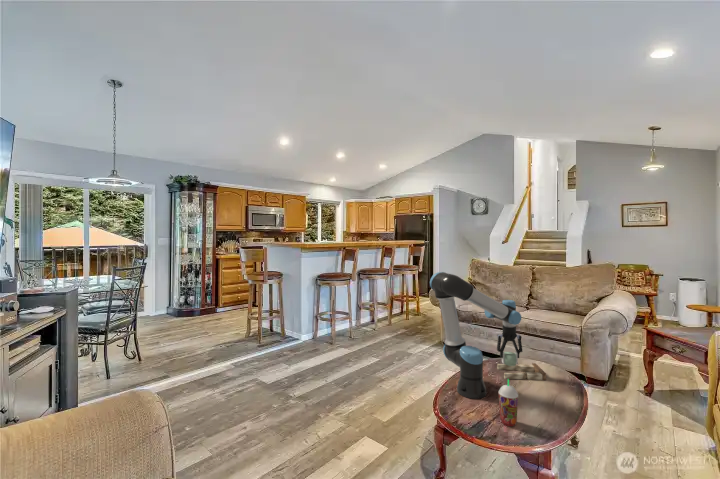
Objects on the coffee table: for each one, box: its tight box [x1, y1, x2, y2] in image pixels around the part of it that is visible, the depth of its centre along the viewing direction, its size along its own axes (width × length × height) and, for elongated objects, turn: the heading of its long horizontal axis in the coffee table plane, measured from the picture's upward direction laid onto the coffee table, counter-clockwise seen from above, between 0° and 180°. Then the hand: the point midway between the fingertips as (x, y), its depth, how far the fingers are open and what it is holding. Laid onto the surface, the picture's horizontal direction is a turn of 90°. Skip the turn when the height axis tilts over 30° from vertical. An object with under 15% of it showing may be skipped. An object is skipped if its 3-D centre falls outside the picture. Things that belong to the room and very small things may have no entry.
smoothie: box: [497, 379, 519, 427], centre depth 153 cm, size 8×8×20 cm
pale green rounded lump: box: [503, 351, 517, 366], centre depth 205 cm, size 7×7×6 cm
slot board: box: [496, 362, 547, 381], centre depth 205 cm, size 23×15×4 cm, turn 84°
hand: (509, 363), depth 205 cm, fingers closed on pale green rounded lump, 7 cm apart
